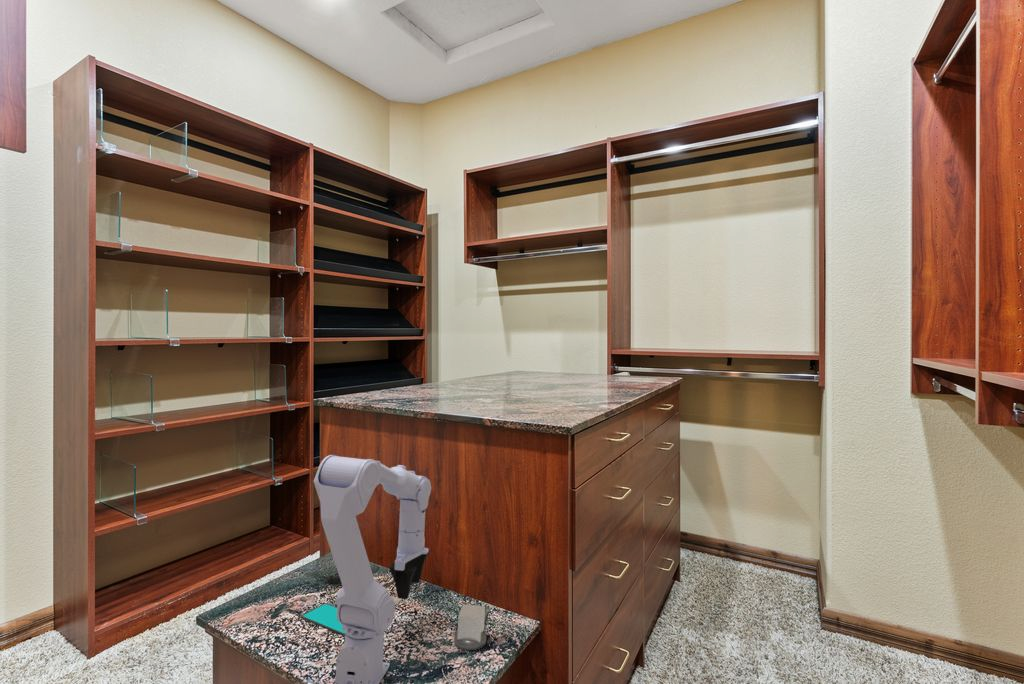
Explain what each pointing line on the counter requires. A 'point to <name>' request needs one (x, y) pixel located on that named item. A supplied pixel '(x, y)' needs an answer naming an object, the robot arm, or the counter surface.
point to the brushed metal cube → (471, 623)
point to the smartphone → (325, 618)
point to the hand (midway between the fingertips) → (408, 589)
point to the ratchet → (470, 644)
